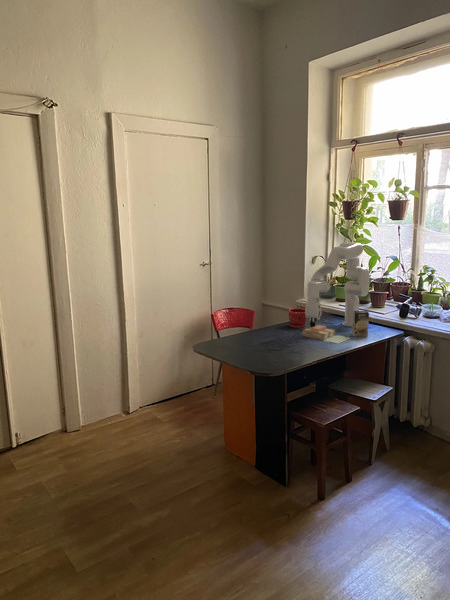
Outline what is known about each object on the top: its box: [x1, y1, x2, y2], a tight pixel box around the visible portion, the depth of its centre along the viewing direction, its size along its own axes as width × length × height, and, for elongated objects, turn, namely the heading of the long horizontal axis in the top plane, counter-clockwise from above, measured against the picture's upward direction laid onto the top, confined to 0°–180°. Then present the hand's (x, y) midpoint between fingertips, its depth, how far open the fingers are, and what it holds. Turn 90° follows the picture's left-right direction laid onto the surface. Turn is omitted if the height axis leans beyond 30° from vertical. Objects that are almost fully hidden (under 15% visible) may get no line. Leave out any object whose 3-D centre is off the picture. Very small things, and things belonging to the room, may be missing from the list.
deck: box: [302, 327, 336, 341], centre depth 293 cm, size 14×16×4 cm
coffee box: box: [351, 310, 370, 338], centre depth 290 cm, size 9×6×16 cm
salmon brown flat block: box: [311, 324, 327, 332], centre depth 292 cm, size 9×6×2 cm, turn 136°
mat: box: [322, 334, 352, 345], centre depth 284 cm, size 16×11×1 cm, turn 136°
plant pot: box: [288, 308, 308, 329], centre depth 317 cm, size 13×13×12 cm
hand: (312, 327), depth 295 cm, fingers closed
